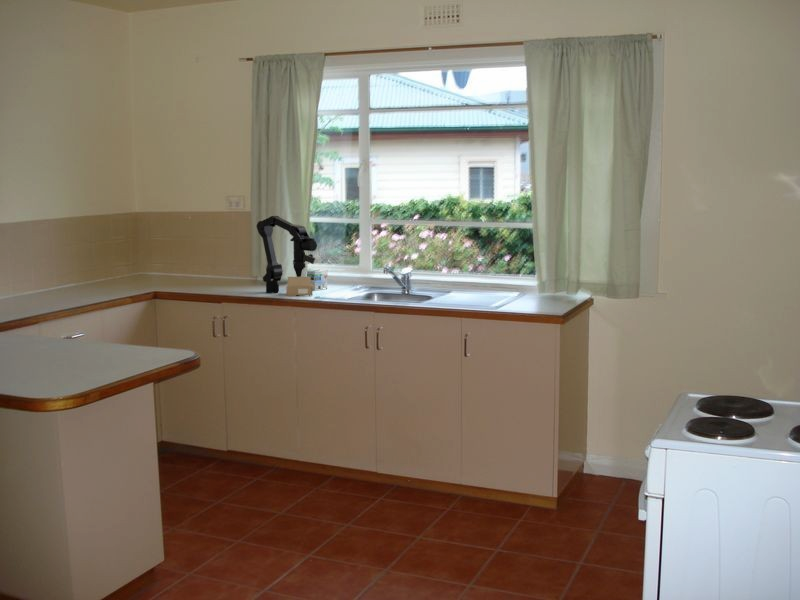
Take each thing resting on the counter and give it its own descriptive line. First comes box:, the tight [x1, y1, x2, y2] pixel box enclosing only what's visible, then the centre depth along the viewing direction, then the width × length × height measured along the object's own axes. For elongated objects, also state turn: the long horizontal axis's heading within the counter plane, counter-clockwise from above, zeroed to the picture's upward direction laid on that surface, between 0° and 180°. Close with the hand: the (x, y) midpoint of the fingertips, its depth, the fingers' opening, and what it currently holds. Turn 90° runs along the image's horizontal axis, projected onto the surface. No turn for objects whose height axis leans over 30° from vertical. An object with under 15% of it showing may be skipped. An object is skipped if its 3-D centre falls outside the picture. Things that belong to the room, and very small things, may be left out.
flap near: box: [287, 276, 311, 286], centre depth 462 cm, size 12×5×1 cm
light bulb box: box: [306, 269, 328, 291], centre depth 491 cm, size 11×7×11 cm, turn 143°
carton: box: [286, 283, 313, 297], centre depth 469 cm, size 14×11×5 cm
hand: (299, 279), depth 462 cm, fingers closed
